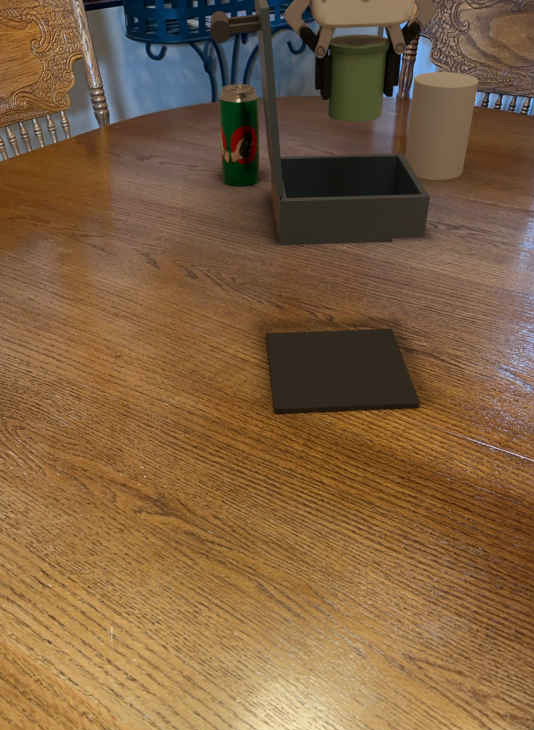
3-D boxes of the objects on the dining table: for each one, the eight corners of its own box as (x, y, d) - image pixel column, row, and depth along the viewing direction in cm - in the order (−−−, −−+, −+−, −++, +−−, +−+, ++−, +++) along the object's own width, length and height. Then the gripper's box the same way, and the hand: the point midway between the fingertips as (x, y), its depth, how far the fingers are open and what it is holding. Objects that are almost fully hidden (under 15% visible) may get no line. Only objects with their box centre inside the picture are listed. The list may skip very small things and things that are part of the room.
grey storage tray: (397, 199, 92) (402, 153, 88) (422, 247, 81) (430, 196, 77) (271, 203, 91) (271, 156, 87) (279, 251, 80) (280, 200, 76)
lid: (260, -17, 75) (207, -10, 75) (269, 6, 64) (206, 14, 64) (274, 152, 87) (228, 158, 87) (283, 196, 76) (230, 202, 76)
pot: (378, 104, 80) (384, 33, 75) (389, 121, 75) (396, 46, 71) (321, 106, 80) (323, 35, 75) (328, 123, 75) (331, 48, 70)
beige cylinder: (467, 169, 100) (484, 75, 92) (453, 188, 94) (470, 90, 86) (412, 162, 102) (423, 69, 94) (395, 180, 97) (406, 83, 89)
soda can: (266, 183, 96) (266, 86, 88) (245, 195, 93) (242, 95, 85) (237, 176, 98) (233, 81, 90) (215, 187, 95) (210, 89, 87)
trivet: (391, 332, 67) (392, 328, 66) (419, 407, 58) (420, 402, 57) (266, 337, 66) (266, 332, 66) (274, 413, 57) (274, 408, 57)
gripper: (276, -116, 61) (279, 108, 73) (471, -123, 62) (442, 101, 74) (270, -119, 67) (274, 90, 79) (449, -125, 67) (426, 83, 79)
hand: (355, 93), depth 76 cm, fingers closed on pot, 6 cm apart
